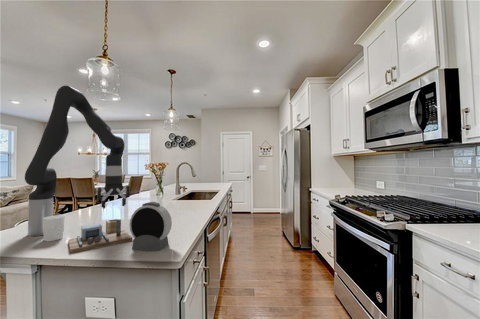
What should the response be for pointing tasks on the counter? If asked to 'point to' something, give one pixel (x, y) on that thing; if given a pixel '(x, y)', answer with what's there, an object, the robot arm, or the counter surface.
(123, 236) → the jig board
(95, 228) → the block
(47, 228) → the white cup
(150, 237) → the alarm clock
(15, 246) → the counter surface
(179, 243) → the counter surface
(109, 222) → the collar
